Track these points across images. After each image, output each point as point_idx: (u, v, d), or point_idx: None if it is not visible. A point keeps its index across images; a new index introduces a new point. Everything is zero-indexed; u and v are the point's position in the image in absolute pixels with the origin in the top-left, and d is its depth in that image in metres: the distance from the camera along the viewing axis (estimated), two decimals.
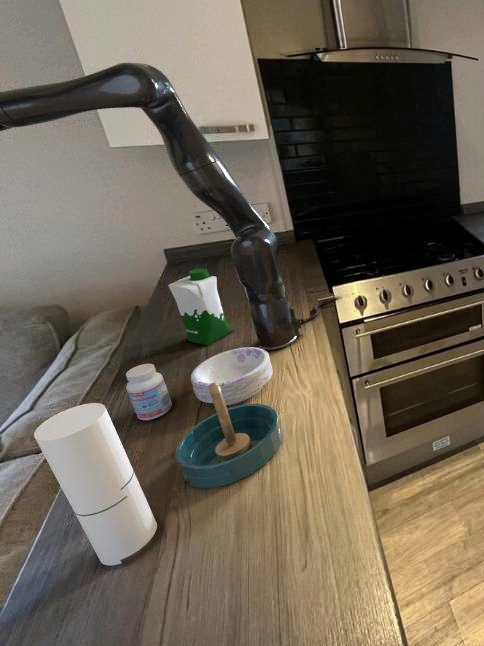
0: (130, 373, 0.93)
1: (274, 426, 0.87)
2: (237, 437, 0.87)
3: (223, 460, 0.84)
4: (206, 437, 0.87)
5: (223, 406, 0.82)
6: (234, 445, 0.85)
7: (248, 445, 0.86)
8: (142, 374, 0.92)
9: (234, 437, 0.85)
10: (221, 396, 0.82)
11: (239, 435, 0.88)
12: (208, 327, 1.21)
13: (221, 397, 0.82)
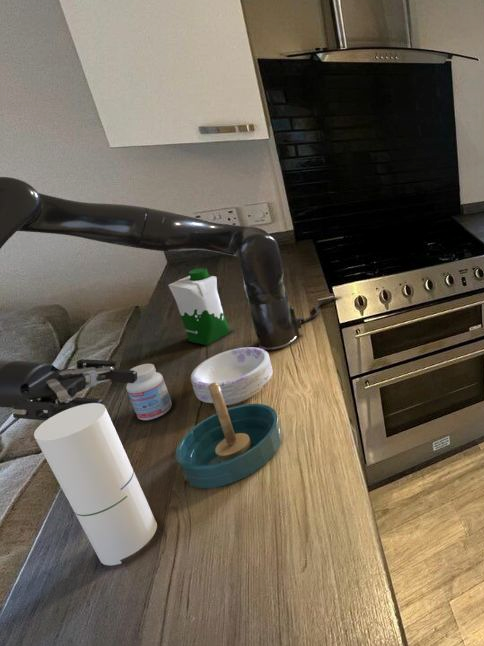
0: None
1: (274, 426, 0.87)
2: (237, 437, 0.87)
3: (223, 460, 0.84)
4: (206, 437, 0.87)
5: (223, 406, 0.82)
6: (234, 445, 0.85)
7: (248, 445, 0.86)
8: (142, 374, 0.92)
9: (234, 437, 0.85)
10: (221, 396, 0.82)
11: (239, 435, 0.88)
12: (208, 327, 1.21)
13: (221, 397, 0.82)
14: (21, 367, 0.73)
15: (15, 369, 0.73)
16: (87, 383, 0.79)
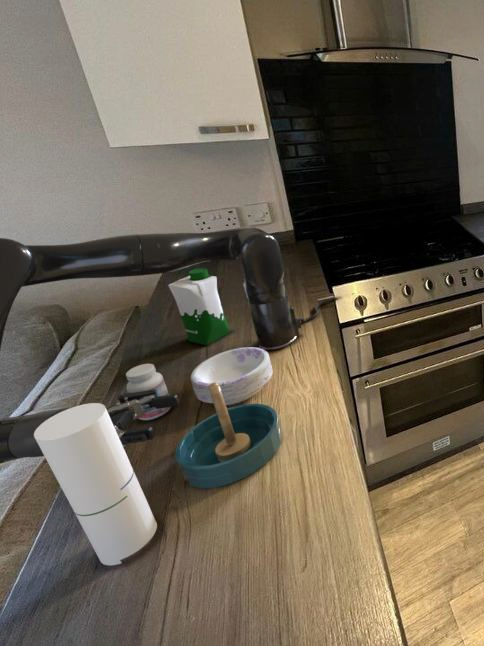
0: (130, 373, 0.93)
1: (274, 426, 0.87)
2: (237, 437, 0.87)
3: (223, 460, 0.84)
4: (206, 437, 0.87)
5: (223, 406, 0.82)
6: (234, 445, 0.85)
7: (248, 445, 0.86)
8: (142, 374, 0.92)
9: (234, 437, 0.85)
10: (221, 396, 0.82)
11: (239, 435, 0.88)
12: (208, 327, 1.21)
13: (221, 397, 0.82)
14: None
15: None
16: (134, 415, 0.82)
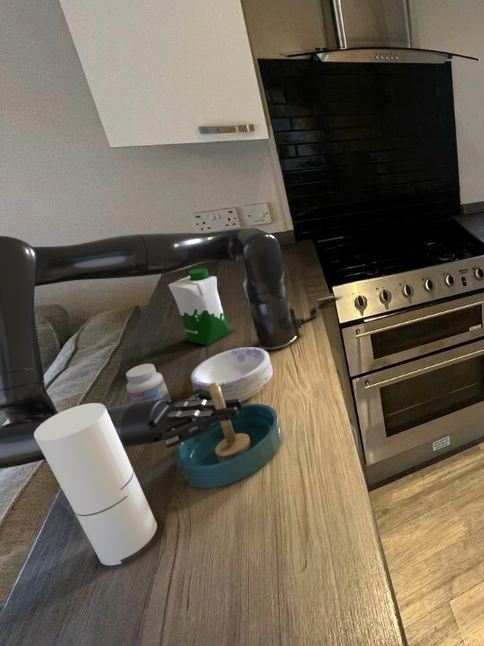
0: (130, 373, 0.93)
1: (274, 426, 0.87)
2: (237, 437, 0.87)
3: (223, 460, 0.84)
4: (206, 437, 0.87)
5: (223, 406, 0.82)
6: (234, 445, 0.85)
7: (248, 445, 0.86)
8: (142, 374, 0.92)
9: (234, 437, 0.85)
10: (221, 396, 0.82)
11: (239, 435, 0.88)
12: (208, 327, 1.21)
13: (221, 397, 0.82)
14: (141, 407, 0.78)
15: (137, 410, 0.78)
16: None
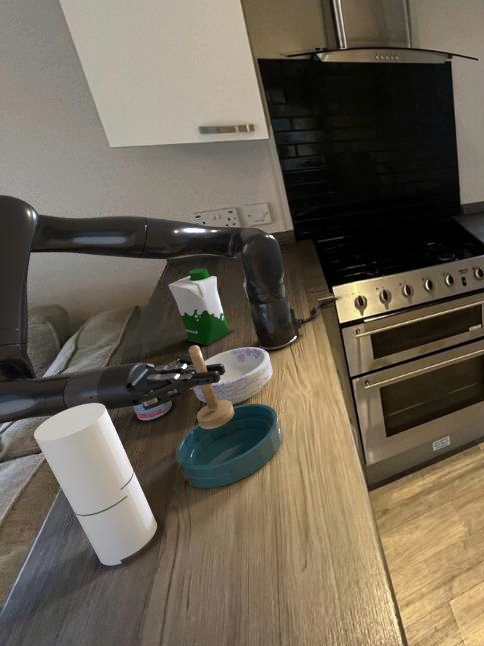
0: None
1: (274, 426, 0.87)
2: (219, 404, 0.85)
3: (204, 426, 0.82)
4: (206, 437, 0.87)
5: (204, 370, 0.80)
6: (216, 411, 0.84)
7: (230, 411, 0.84)
8: None
9: (216, 403, 0.83)
10: (202, 359, 0.80)
11: (222, 402, 0.86)
12: (208, 327, 1.21)
13: (202, 361, 0.80)
14: (119, 370, 0.76)
15: (115, 372, 0.76)
16: None
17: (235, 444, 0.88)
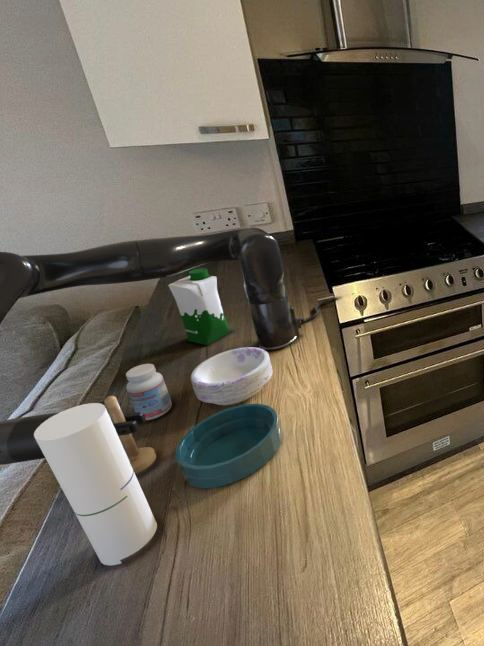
0: (130, 373, 0.93)
1: (274, 426, 0.87)
2: (142, 451, 0.85)
3: None
4: (206, 437, 0.87)
5: (121, 420, 0.80)
6: (136, 460, 0.83)
7: (152, 460, 0.84)
8: (142, 374, 0.92)
9: (136, 452, 0.83)
10: (119, 410, 0.79)
11: (144, 449, 0.85)
12: (208, 327, 1.21)
13: (119, 411, 0.79)
14: (32, 422, 0.76)
15: (27, 425, 0.75)
16: None
17: (235, 444, 0.88)
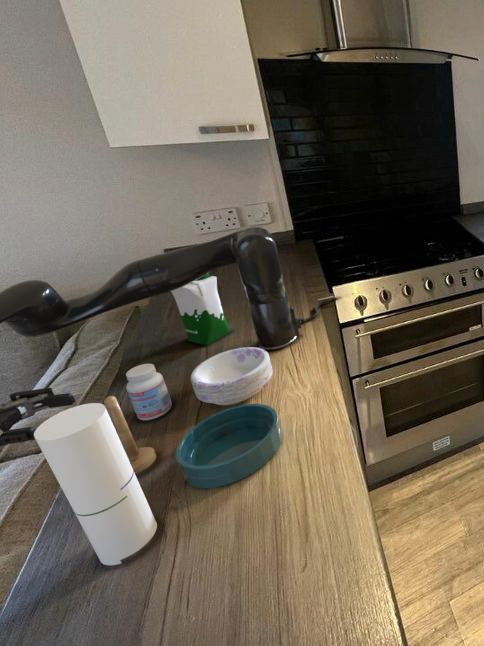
0: (130, 373, 0.93)
1: (274, 426, 0.87)
2: (142, 451, 0.85)
3: None
4: (206, 437, 0.87)
5: (121, 420, 0.80)
6: (137, 460, 0.83)
7: (152, 460, 0.84)
8: (142, 374, 0.92)
9: (136, 452, 0.83)
10: (118, 410, 0.79)
11: (144, 449, 0.85)
12: (208, 327, 1.21)
13: (118, 411, 0.79)
14: None
15: None
16: (24, 414, 0.79)
17: (235, 444, 0.88)
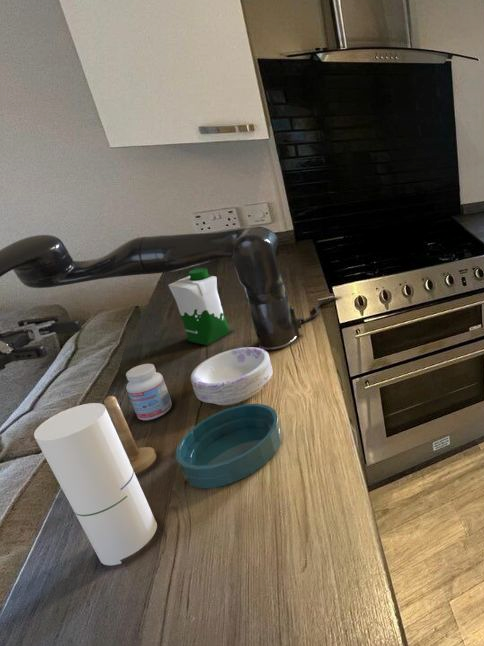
0: (130, 373, 0.93)
1: (274, 426, 0.87)
2: (142, 451, 0.85)
3: None
4: (206, 437, 0.87)
5: (121, 420, 0.80)
6: (137, 460, 0.83)
7: (152, 460, 0.84)
8: (142, 374, 0.92)
9: (136, 452, 0.83)
10: (118, 410, 0.79)
11: (144, 449, 0.85)
12: (208, 327, 1.21)
13: (118, 411, 0.79)
14: None
15: None
16: (33, 339, 0.82)
17: (235, 444, 0.88)
